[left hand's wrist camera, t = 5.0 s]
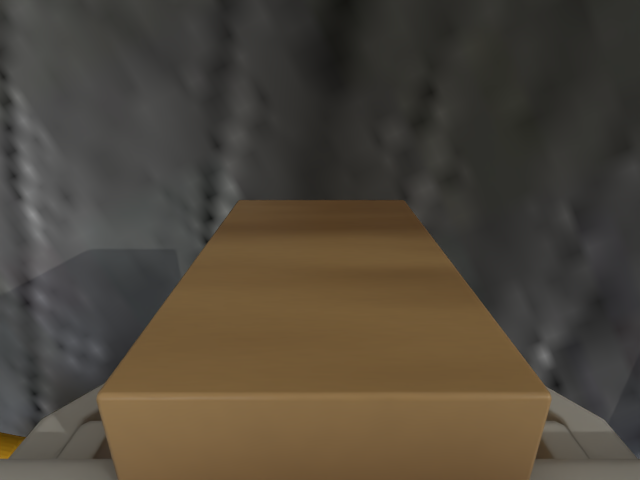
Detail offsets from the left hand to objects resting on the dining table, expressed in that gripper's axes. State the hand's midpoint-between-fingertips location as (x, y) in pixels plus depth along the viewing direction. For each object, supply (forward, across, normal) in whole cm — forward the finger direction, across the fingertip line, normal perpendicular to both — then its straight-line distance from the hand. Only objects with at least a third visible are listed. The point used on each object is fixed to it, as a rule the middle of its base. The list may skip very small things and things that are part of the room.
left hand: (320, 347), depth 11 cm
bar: (+3, 0, +8) cm, 9 cm away
